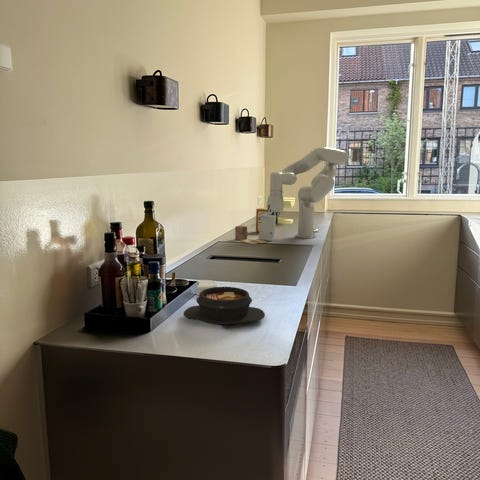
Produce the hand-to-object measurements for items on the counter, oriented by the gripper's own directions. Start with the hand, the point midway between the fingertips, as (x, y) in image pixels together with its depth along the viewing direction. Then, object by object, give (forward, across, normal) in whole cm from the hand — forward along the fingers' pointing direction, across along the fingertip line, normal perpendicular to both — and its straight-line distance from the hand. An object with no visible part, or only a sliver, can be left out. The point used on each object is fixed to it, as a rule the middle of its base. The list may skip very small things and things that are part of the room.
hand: (274, 223), depth 280 cm
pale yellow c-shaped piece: (+9, -54, -51) cm, 75 cm away
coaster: (+11, +96, +68) cm, 118 cm away
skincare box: (+9, +6, 0) cm, 11 cm away
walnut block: (+10, +18, -9) cm, 23 cm away
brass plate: (+10, +16, 0) cm, 19 cm away
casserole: (+11, +107, +96) cm, 144 cm away
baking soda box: (+10, -11, -22) cm, 26 cm away
